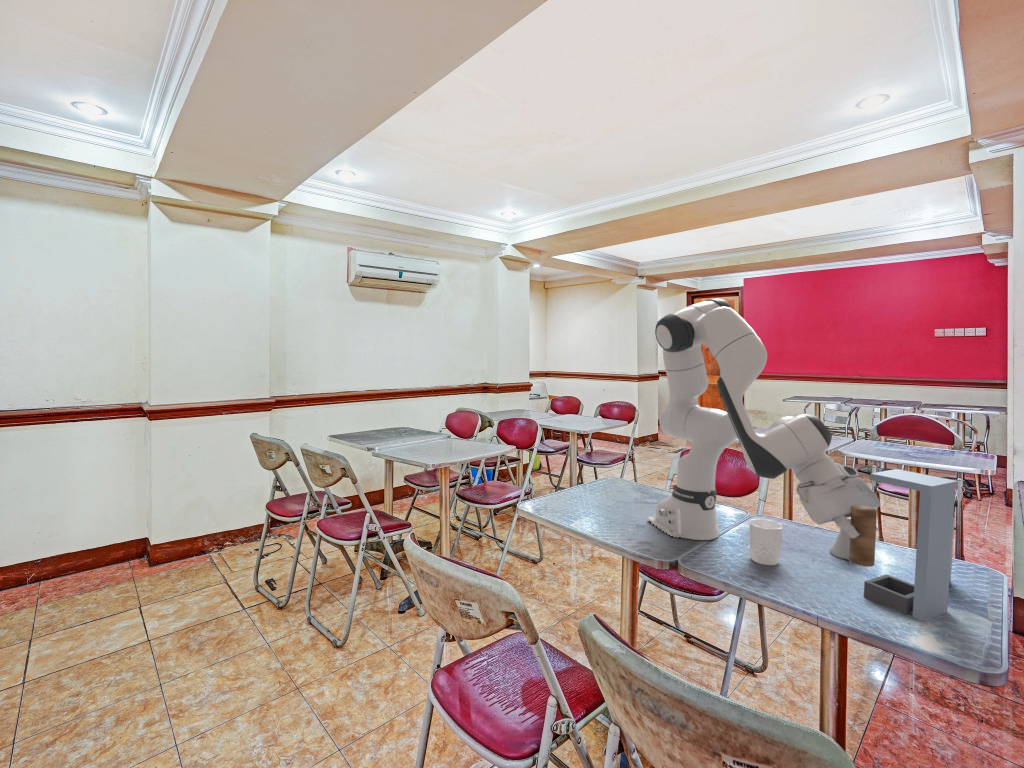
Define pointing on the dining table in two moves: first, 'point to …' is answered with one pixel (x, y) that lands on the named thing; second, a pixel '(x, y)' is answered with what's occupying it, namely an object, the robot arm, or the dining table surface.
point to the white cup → (765, 541)
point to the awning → (929, 538)
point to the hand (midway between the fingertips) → (865, 534)
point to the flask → (841, 544)
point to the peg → (863, 535)
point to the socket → (891, 593)
